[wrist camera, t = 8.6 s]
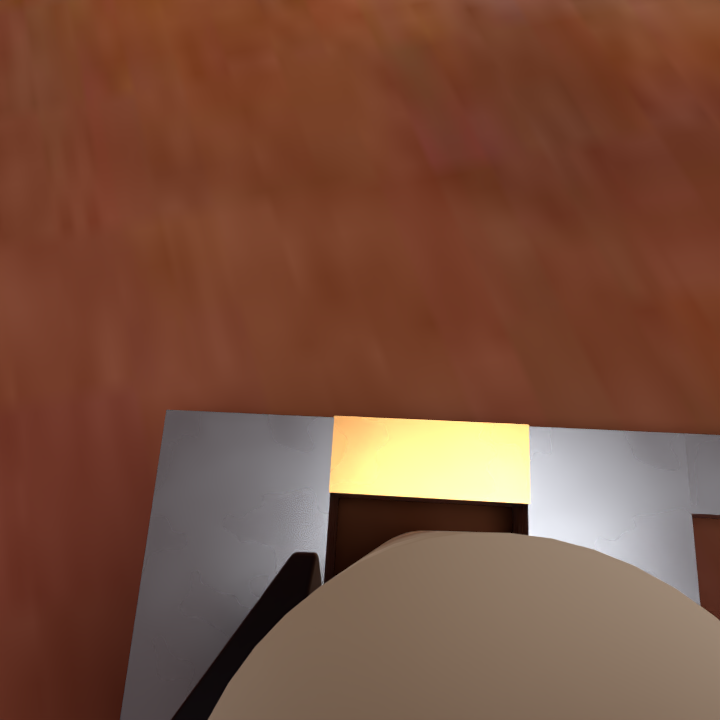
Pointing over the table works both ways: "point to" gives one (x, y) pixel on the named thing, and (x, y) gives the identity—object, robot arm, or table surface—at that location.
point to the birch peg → (484, 639)
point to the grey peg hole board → (382, 482)
